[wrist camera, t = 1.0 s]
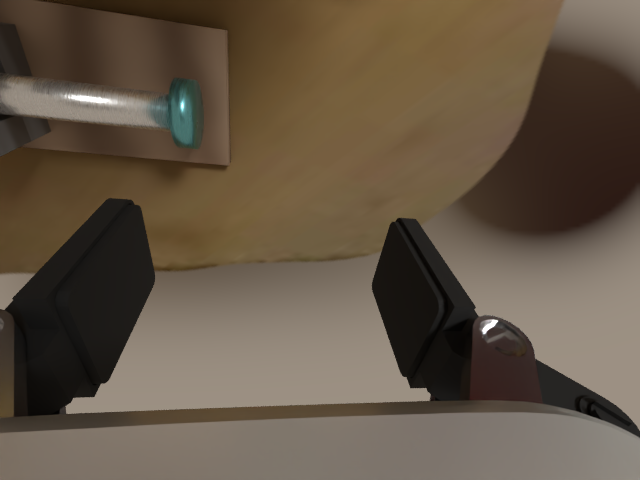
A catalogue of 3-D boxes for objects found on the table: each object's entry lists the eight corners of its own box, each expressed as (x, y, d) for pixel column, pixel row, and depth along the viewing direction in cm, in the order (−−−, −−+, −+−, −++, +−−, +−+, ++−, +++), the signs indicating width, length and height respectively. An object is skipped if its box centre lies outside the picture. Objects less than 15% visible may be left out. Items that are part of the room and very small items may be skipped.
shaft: (201, 75, 22) (186, 86, 18) (205, 138, 24) (192, 158, 21) (-173, 25, 18) (-282, 27, 15) (-124, 104, 21) (-208, 122, 17)
